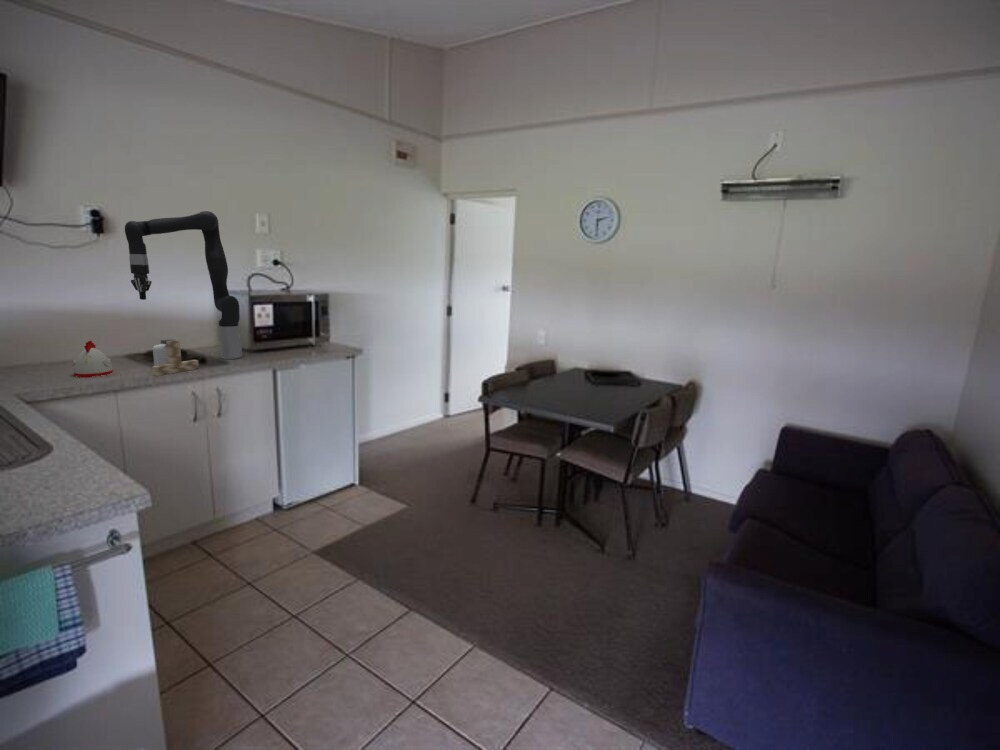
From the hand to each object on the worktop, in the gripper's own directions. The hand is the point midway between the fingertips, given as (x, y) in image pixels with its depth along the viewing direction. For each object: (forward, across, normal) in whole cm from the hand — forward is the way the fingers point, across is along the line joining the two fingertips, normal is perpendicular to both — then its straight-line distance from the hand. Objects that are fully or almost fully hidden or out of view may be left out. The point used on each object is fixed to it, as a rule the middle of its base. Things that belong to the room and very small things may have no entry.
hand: (143, 299), depth 260 cm
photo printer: (+31, +27, -9) cm, 42 cm away
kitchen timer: (+31, +10, -31) cm, 45 cm away
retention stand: (+31, +32, -9) cm, 45 cm away
